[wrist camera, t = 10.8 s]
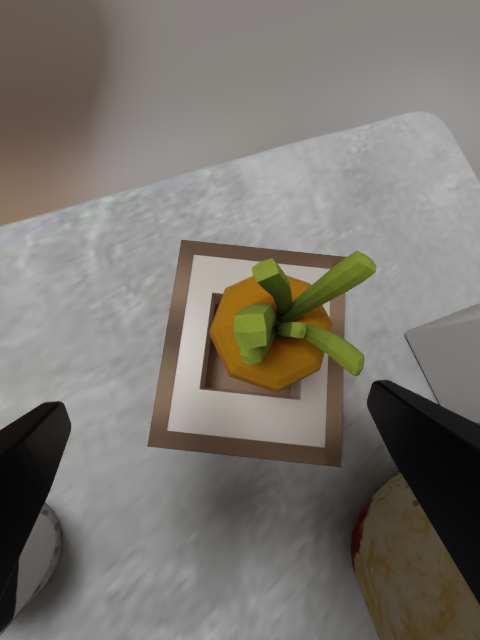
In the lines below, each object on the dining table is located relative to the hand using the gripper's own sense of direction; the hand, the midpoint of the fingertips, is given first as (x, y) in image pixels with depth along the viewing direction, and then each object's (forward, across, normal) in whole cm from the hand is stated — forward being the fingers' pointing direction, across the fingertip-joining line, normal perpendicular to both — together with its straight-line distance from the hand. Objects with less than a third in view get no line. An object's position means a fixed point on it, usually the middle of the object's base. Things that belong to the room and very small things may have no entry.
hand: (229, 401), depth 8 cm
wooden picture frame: (+12, -3, +6) cm, 13 cm away
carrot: (+11, -3, +6) cm, 13 cm away
